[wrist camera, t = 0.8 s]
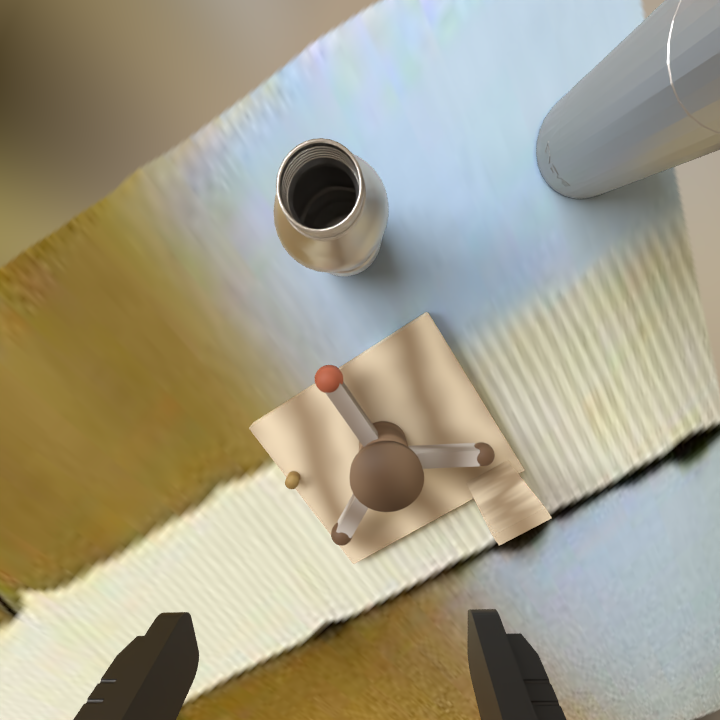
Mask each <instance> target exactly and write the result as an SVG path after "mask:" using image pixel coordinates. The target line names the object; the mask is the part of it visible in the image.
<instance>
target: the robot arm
mask: <svg viewBox="0 0 720 720" xmlns="http://www.w3.org/2000/svg"><path fill="white" fill-rule="evenodd" d="M717 150H720V0H665V1H664V2H663V3H662V4H661V5H660V6H659V7H658V8H657V9H656V10H655V11H653V12H652V13H651V14H650V15H649V16H648V17H647V18H646V19H645V20H644V21H643V22H642V23H641V24H640V25H639V26H638V27H637V28H636V29H634V30H633V31H632V32H631V33H630V34H629V35H628V36H627V37H626V38H625V39H624V40H623V41H622V42H621V43H620V44H619V45H618V46H617V47H615V48H614V49H613V50H612V51H611V52H610V53H609V54H608V55H607V56H606V57H605V58H604V59H603V60H602V61H601V62H600V63H599V64H597V65H596V66H595V67H594V68H593V69H592V70H591V71H590V72H589V73H588V74H587V75H586V76H585V77H583V78H582V79H581V80H580V81H579V82H578V83H577V84H576V85H575V86H574V87H573V88H572V89H571V90H570V91H569V92H568V93H567V94H566V95H565V96H564V97H563V98H561V99H560V100H559V101H558V102H557V103H556V104H555V105H554V106H553V107H552V109H551V110H550V112H549V113H548V114H547V116H546V117H545V119H544V121H543V123H542V126H541V128H540V131H539V135H538V139H537V148H536V155H537V162H538V166H539V169H540V172H541V174H542V176H543V178H544V179H545V181H546V182H547V184H548V185H550V186H551V187H552V188H553V189H554V190H555V191H557V192H558V193H560V194H562V195H564V196H567V197H571V198H580V199H585V198H590V197H595V196H598V195H600V194H603V193H606V192H608V191H611V190H614V189H616V188H619V187H622V186H624V185H627V184H630V183H633V182H636V181H638V180H641V179H643V178H646V177H649V176H651V175H654V174H657V173H659V172H662V171H665V170H667V169H670V168H672V167H675V166H678V165H680V164H683V163H686V162H688V161H691V160H693V159H696V158H699V157H701V156H704V155H707V154H709V153H712V152H715V151H717ZM198 661H199V650H198V646H197V641H196V637H195V632H194V628H193V623H192V618H191V615H190V614H189V613H188V612H178V613H161V614H160V615H158V617H157V618H156V619H155V620H154V622H153V623H152V625H151V627H150V628H149V630H148V631H147V633H146V634H145V636H137V637H136V638H135V639H134V640H133V641H132V642H131V643H130V644H129V645H128V646H127V647H126V648H124V649H123V650H122V651H121V652H120V653H119V654H118V655H117V656H116V658H115V659H114V661H113V662H112V664H111V665H110V667H109V668H108V670H107V671H106V673H105V674H104V675H103V677H102V678H101V682H100V684H97V686H96V687H95V689H94V690H93V692H92V693H91V695H90V696H89V697H88V701H87V703H86V704H84V705H83V706H82V708H81V709H80V711H79V712H78V714H77V715H76V717H75V718H74V720H176V718H177V716H178V714H179V712H180V709H181V707H182V705H183V703H184V700H185V698H186V696H187V694H188V692H189V689H190V687H191V685H192V683H193V680H194V678H195V675H196V671H197V667H198ZM468 661H469V668H470V674H471V679H472V684H473V688H474V692H475V696H476V700H477V704H478V708H479V713H480V717H481V720H566V718H565V715H564V713H563V711H562V709H561V706H559V703H558V699H557V697H556V695H555V692H554V690H553V688H552V685H551V684H550V683H549V679H548V676H547V674H546V672H545V669H544V667H543V665H542V662H541V660H540V658H539V656H538V654H537V653H536V651H535V650H534V649H533V648H532V646H531V645H530V644H529V643H528V642H527V640H526V639H525V638H524V637H523V636H522V634H506V632H505V630H504V627H503V624H502V622H501V619H500V616H499V614H498V612H497V610H495V609H478V610H468Z"/></svg>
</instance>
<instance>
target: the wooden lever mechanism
mask: <svg viewBox="0 0 720 720" xmlns="http://www.w3.org/2000/svg"><path fill="white" fill-rule="evenodd" d="M339 369H340V371H341V372H342V374H343V382H344V383H345V385H346V386H347V387H348V389H349V390H350V392H351V393H352V395H353V396H354V398H355V399H356V400H357V402H358V403H359V405H360V406H361V408H362V409H363V411H364V412H365V413H366V415H367V416H368V418H369V419H370V421H371V422H372V423H375V422H379V421H387V422H391V423H394V424H396V425H397V426H399V427H400V428H401V429H402V430H403V432H404V434H405V436H406V439H407V443H408V446H416V445H438V444H460V443H475V444H476V443H479V442H484V443H487V444H489V445H490V446H491V447H492V448H493V450H494V453H495V457H494V460H493V462H492V463H491V464H490V465H488V466H476V467H453V468H431V469H423V472H424V484H423V488H422V491H421V493H420V495H419V496H418V497H417V499H416V500H415V501H414V502H413V503H412V504H410V505H409V506H407V507H406V508H403V509H401V510H398V511H394V512H379V511H375V510H372V509H370V508H368V510H367V511H366V513H365V515H364V517H363V518H362V520H361V522H360V523H359V525H358V527H357V529H356V530H355V532H354V534H353V536H352V539H351V541H350V542H349V543H348V544H346V545H343V546H340V545H339V546H340V547H341V549H342V550H343V551H344V552H345V554H346V555H347V556H348V558H349V559H350V560H351V562H352V563H353V564H355V563H357V562H358V561H360V560H362V559H364V558H366V557H368V556H369V555H371V554H373V553H375V552H377V551H379V550H380V549H382V548H384V547H386V546H388V545H390V544H391V543H393V542H395V541H397V540H399V539H401V538H402V537H404V536H406V535H408V534H410V533H412V532H413V531H415V530H417V529H419V528H421V527H422V526H424V525H426V524H428V523H430V522H432V521H433V520H435V519H437V518H439V517H441V516H443V515H444V514H446V513H448V512H450V511H452V510H454V509H455V508H457V507H459V506H461V505H463V504H465V503H466V502H468V501H470V500H472V499H474V500H475V502H476V504H477V506H478V508H479V510H480V512H481V514H482V516H483V518H484V520H485V522H486V524H487V526H488V528H489V530H490V532H491V534H492V536H493V537H494V539H495V540H496V542H497V543H498V545H501V544H503V543H505V542H507V541H509V540H511V539H513V538H515V537H517V536H519V535H520V534H522V533H524V532H526V531H528V530H530V529H532V528H534V527H536V526H538V525H540V524H542V523H543V522H545V521H547V520H549V519H551V516H550V514H549V513H548V511H547V509H546V508H545V507H544V505H543V504H542V503H541V502H540V500H539V499H538V498H537V497H536V495H535V494H534V493H533V492H532V490H531V489H530V488H529V487H528V485H527V484H526V483H525V482H524V480H523V479H522V478H521V477H520V475H519V473H521V472H523V471H525V470H524V468H523V467H522V465H521V463H520V462H519V460H518V458H517V457H516V455H515V454H514V452H513V450H512V449H511V447H510V445H509V444H508V442H507V441H506V439H505V437H504V436H503V434H502V432H501V431H500V429H499V427H498V426H497V424H496V423H495V421H494V419H493V418H492V416H491V414H490V413H489V411H488V410H487V408H486V406H485V405H484V403H483V401H482V400H481V398H480V396H479V395H478V393H477V392H476V390H475V388H474V387H473V385H472V383H471V382H470V380H469V378H468V377H467V375H466V374H465V372H464V370H463V369H462V367H461V365H460V364H459V362H458V361H457V359H456V357H455V356H454V354H453V352H452V351H451V349H450V347H449V346H448V344H447V343H446V341H445V339H444V338H443V336H442V334H441V333H440V331H439V330H438V328H437V326H436V325H435V323H434V321H433V320H432V318H431V316H430V315H429V313H427V312H425V313H424V314H422V315H421V316H419V317H417V318H416V319H414V320H413V321H411V322H410V323H408V324H406V325H405V326H403V327H402V328H400V329H399V330H397V331H396V332H394V333H392V334H391V335H389V336H388V337H386V338H385V339H383V340H382V341H380V342H378V343H377V344H375V345H374V346H372V347H371V348H369V349H367V350H366V351H364V352H363V353H361V354H360V355H358V356H357V357H355V358H353V359H352V360H350V361H349V362H347V363H346V364H344V365H343V366H341V367H339ZM249 429H250V430H251V432H252V433H253V434H254V436H255V437H256V438H257V439H258V441H259V442H260V443H261V445H262V446H263V447H264V449H265V450H266V451H267V452H268V454H269V455H270V456H271V458H272V459H273V460H274V462H275V463H276V464H277V465H278V467H279V468H280V469H281V471H282V472H283V473H284V475H285V476H286V477H287V478H286V481H285V485H286V487H287V488H289V489H296V490H297V491H298V493H299V494H300V495H301V497H302V498H303V499H304V500H305V502H306V503H307V504H308V506H309V507H310V508H311V510H312V511H313V512H314V513H315V515H316V516H317V517H318V519H319V520H320V521H321V523H322V524H323V525H324V526H325V528H326V529H327V530H328V532H329V533H330V534H331V531H332V528H333V526H334V525H335V524H336V523H337V522H338V519H339V518H340V516H341V514H342V512H343V511H344V509H345V507H346V505H347V503H348V502H349V500H350V498H351V496H352V495H353V492H352V490H351V486H350V468H351V464H352V462H353V459H354V458H355V456H356V455H357V454H358V452H359V440H358V438H357V437H356V435H355V434H354V433H353V431H352V430H351V428H350V427H349V425H348V424H347V423H346V421H345V420H344V418H343V417H342V416H341V414H340V413H339V411H338V410H337V408H336V407H335V406H334V404H333V403H332V401H331V400H330V399H329V397H328V396H327V394H326V393H324V392H322V391H320V390H319V389H318V388H317V386H316V384H315V383H314V384H313V385H311V386H310V387H308V388H307V389H305V390H304V391H302V392H300V393H299V394H297V395H296V396H294V397H293V398H291V399H289V400H288V401H286V402H285V403H283V404H282V405H280V406H279V407H277V408H275V409H274V410H272V411H271V412H269V413H268V414H266V415H265V416H263V417H261V418H260V419H258V420H257V421H255V422H254V423H253V424H252V425H251V426H250V427H249Z"/></svg>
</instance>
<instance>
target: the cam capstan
mask: <svg viewBox="0 0 720 720" xmlns="http://www.w3.org/2000/svg"><path fill="white" fill-rule="evenodd" d="M315 384H316V386H317V388H318V389H319V390H320V391H322V392H324V393H326V394H327V396H328V397H329V399H330V400H331V401H332V403H333V404H334V406H335V407H336V408H337V410H338V411H339V413H340V414H341V416H342V417H343V418H344V420H345V421H346V423H347V424H348V425H349V427H350V428H351V430H352V431H353V433H354V434H355V435H356V437H357V438H358V440H359V452H358V454H357V455H356V456H355V458H354V459H353V462H352V464H351V468H350V486H351V490H352V492H353V495H352V496H351V498H350V500H349V502H348V503H347V505H346V507H345V509H344V511H343V512H342V514H341V516H340V518H339V519H338V522H337V523H336V524H335V525H334V526H333V528H332V531H331V537H332V540H333V541H334V542H335V543H336V544H337V545H340V546H343V545H346V544H348V543H349V542H350V541H351V539H352V536H353V534H354V532H355V530H356V529H357V527H358V525H359V523H360V522H361V520H362V518H363V517H364V515H365V513H366V511H367V510H368V508H370V509H372V510H375V511H379V512H394V511H398V510H401V509H403V508H406V507H407V506H409V505H410V504H412V503H413V502H414V501H415V500H416V499H417V497H418V496H419V495H420V493H421V491H422V488H423V484H424V472H423V469H431V468H453V467H476V466H488V465H490V464H491V463H492V462H493V460H494V457H495V453H494V450H493V448H492V447H491V446H490V445H489V444H487V443H484V442H479V443H476V444H475V443H460V444H438V445H416V446H408V443H407V439H406V436H405V434H404V432H403V430H402V429H401V428H400V427H399V426H397V425H396V424H394V423H391V422H387V421H379V422H375V423H372V422H371V421H370V419H369V418H368V416H367V415H366V413H365V412H364V411H363V409H362V408H361V406H360V405H359V403H358V402H357V400H356V399H355V398H354V396H353V395H352V393H351V392H350V390H349V389H348V387H347V386H346V385H345V383H344V382H343V374H342V372H341V371H340V369H339V368H337V367H336V366H333V365H326V366H323V367H321V368H320V369H319V370H318V371H317V373H316V375H315Z"/></svg>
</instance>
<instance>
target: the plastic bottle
mask: <svg viewBox="0 0 720 720" xmlns="http://www.w3.org/2000/svg"><path fill="white" fill-rule="evenodd" d="M276 190H277V193H276V196H275V203H274V223H275V227H276V231H277V235H278V237H279V239H280V241H281V243H282V245H283V247H284V248H285V249H286V251H287V252H288V253H289V255H290V256H292V257H293V258H294V259H295V260H296V261H297V262H298V263H300V264H302V265H303V266H305V267H307V268H310V269H313V270H315V271H320V272H327V273H330V274H332V275H335V276H342V277H345V276H352V275H356V274H358V273H360V272H362V271H364V270H365V269H367V268H368V267H369V266H370V265H371V264H372V263H373V262H374V260H375V258H376V257H377V255H378V253H379V250H380V247H381V241H382V237H383V235H384V232H385V229H386V226H387V221H388V199H387V193H386V190H385V187H384V185H383V183H382V180H381V179H380V177H379V176H378V174H377V173H376V171H375V170H374V169H373V168H372V167H371V166H370V165H369V164H368V163H367V162H366V161H364V160H363V159H361V158H360V157H358V156H356V155H354V154H352V153H351V152H350V151H349V150H348V149H347V148H346V147H345V146H343V145H341V144H340V143H338V142H336V141H333V140H330V139H323V138H320V139H311V140H308V141H305V142H303V143H301V144H299V145H298V146H296V147H295V148H294V149H293V150H291V151H290V152H289V153H288V155H287V156H286V157H285V159H284V160H283V162H282V164H281V166H280V168H279V172H278V175H277V182H276Z"/></svg>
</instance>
